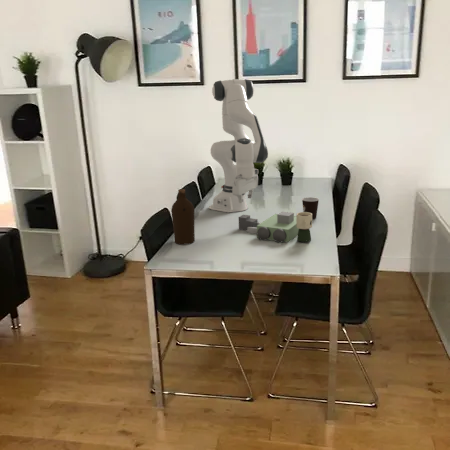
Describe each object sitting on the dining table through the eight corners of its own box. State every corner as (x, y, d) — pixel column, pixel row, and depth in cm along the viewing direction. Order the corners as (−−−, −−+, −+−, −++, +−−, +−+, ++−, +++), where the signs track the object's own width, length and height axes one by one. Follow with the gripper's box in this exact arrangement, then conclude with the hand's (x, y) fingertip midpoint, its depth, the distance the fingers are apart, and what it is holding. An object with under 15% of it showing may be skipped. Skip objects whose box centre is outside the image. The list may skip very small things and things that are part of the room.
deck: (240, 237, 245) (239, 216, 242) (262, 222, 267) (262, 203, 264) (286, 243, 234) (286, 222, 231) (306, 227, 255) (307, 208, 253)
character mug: (313, 244, 231) (314, 217, 227) (297, 245, 231) (297, 217, 227) (310, 237, 241) (310, 210, 237) (294, 237, 241) (295, 211, 237)
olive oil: (200, 241, 241) (198, 189, 234) (183, 246, 234) (179, 193, 227) (186, 236, 249) (183, 186, 241) (168, 241, 242) (165, 190, 234)
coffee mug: (318, 220, 267) (318, 201, 264) (301, 219, 269) (301, 201, 266) (318, 214, 278) (319, 196, 275) (302, 213, 280) (302, 195, 277)
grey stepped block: (238, 229, 257) (238, 217, 255) (243, 226, 261) (243, 214, 259) (253, 231, 253) (253, 218, 251) (257, 228, 257) (257, 216, 255)
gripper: (240, 177, 239) (241, 206, 243) (260, 169, 256) (260, 196, 260) (228, 176, 242) (229, 204, 246) (248, 168, 259) (249, 195, 263)
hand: (245, 200), depth 253 cm, fingers open, 8 cm apart
